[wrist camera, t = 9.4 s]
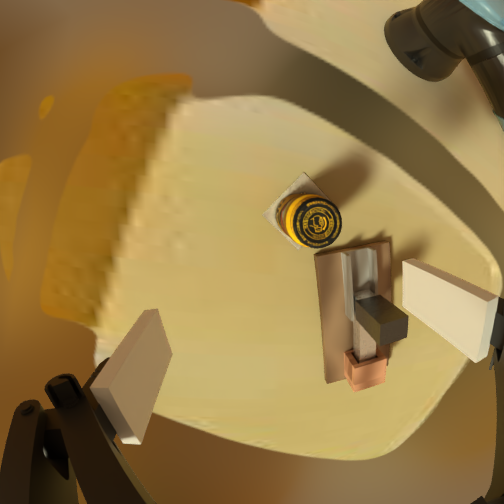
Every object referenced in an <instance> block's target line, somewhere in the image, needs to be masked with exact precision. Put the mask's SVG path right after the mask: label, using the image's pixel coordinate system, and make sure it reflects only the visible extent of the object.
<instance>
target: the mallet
mask: <svg viewBox="0 0 504 504" xmlns="http://www.w3.org/2000/svg"><path fill="white" fill-rule="evenodd" d="M353 301H354V321H353V343H354V358H355V359H356V361H357V362H358V364H359V363H362V362H365V361H369V360H372V359H375V358H376V343H377V344H378V345H379V346H383V345H386V344H389V343H392V342H395V341H398V340H401V339H403V338H406V337H407V331H408V315H406V314H405V313H404V312H403V311H401V310H400V309H399V308H397V307H396V306H395V305H393V304H392V303H391V302H389V301H388V300H387V299H385V298H384V297H383V296H381V295H380V294H379V295H375V294H374V293H373V292H371V291H370V290H369V289H367V290H363V291H359V292H354V293H353Z"/></svg>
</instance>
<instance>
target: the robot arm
mask: <svg viewBox="0 0 504 504" xmlns="http://www.w3.org/2000/svg"><path fill="white" fill-rule="evenodd" d="M384 32H385V37H386V40H387V43H388V45H389V47H390V49H391V50H392V52H393V54H394V55H395V56H396V58H397V59H398V60H399V61H400V62H401V63H402V64H403V65H404V66H405V67H406V68H407V69H408V70H409V71H411V72H412V73H413V74H415V75H416V76H418V77H420V78H422V79H424V80H427V81H432V82H437V81H440V80H443V79H445V78H447V77H448V76H450V75H451V74H452V72H453V70H454V69H455V68H456V67H457V65H458V64H459V63H460V61H461V60H462V59H464V58H466V59H467V61H468V62H469V64H470V66H471V68H472V69H473V71H474V73H475V75H476V76H477V78H478V80H479V82H480V84H481V86H482V88H483V90H484V92H485V94H486V96H487V98H488V100H489V102H490V104H491V106H492V108H493V112H494V114H495V116H496V117H497V118H498V121H499V123H500V125H501V127H502V129H503V131H504V0H423V1H422V2H421V3H420V4H419V5H418V6H416V7H412V8H409V9H405V10H402V11H399V12H396V13H395V14H393V15H392V16H391V17H390V18H389V19H388V20H387V21H386V23H385V27H384ZM496 55H497V56H496ZM491 57H492V58H491ZM486 59H487V60H486ZM402 263H403V307H404V308H405V309H406V310H408V311H409V312H411V313H412V314H413V315H415V316H416V317H417V318H419V319H420V320H421V321H422V322H424V323H425V324H426V325H428V326H429V327H430V328H432V329H433V330H434V331H436V332H437V333H438V334H439V335H441V336H442V337H443V338H445V339H446V340H447V341H448V342H450V343H451V344H452V345H454V346H455V347H456V348H457V349H459V350H460V351H461V352H462V353H464V354H465V355H466V356H467V357H469V358H470V359H471V360H472V361H474V362H475V363H476V362H478V361H480V360H482V359H483V358H485V357H486V356H487V353H488V350H489V345H490V344H492V345H493V346H494V347H495V349H494V353H493V357H492V360H491V363H490V367H489V370H491V368H492V366H493V365H494V370H495V380H496V395H497V396H496V397H497V434H496V450H495V460H494V469H493V476H492V482H491V486H490V488H489V490H488V492H487V494H486V496H485V498H483V497H482V496H481V497H479V498H478V499H477V500H475V501H474V502H472V503H471V504H504V299H502V298H500V297H499V296H497V295H495V294H493V293H491V292H489V291H486V290H484V289H482V288H480V287H478V286H476V285H474V284H471V283H469V282H467V281H465V280H463V279H460V278H458V277H456V276H454V275H452V274H449V273H447V272H445V271H442V270H440V269H438V268H436V267H433V266H431V265H429V264H426V263H424V262H421V261H419V260H417V259H414V258H412V259H408V260H403V261H402ZM171 357H172V351H171V348H170V345H169V343H168V340H167V337H166V333H165V330H164V327H163V324H162V321H161V318H160V315H159V311H158V309H151V310H144V312H143V313H142V314H141V316H140V317H139V318H138V320H137V321H136V322H135V324H134V325H133V327H132V328H131V329H130V331H129V332H128V333H127V335H126V336H125V338H124V339H123V340H122V342H121V343H120V344H119V346H118V347H117V349H116V350H115V352H114V353H113V354H112V356H111V357H109V358H106V359H105V360H104V361H103V362H101V363H100V364H99V365H98V367H97V368H96V369H95V372H93V374H92V375H91V377H90V378H89V379H88V381H87V382H86V384H85V385H84V386H83V388H81V386H80V385H79V383H78V381H77V379H76V377H75V376H74V375H72V374H61V375H58V376H56V377H54V378H52V379H51V380H50V381H48V383H47V384H46V385H45V392H46V393H47V395H48V397H49V399H50V400H51V402H52V404H53V405H54V407H55V408H54V409H46V410H44V409H43V407H42V406H41V404H40V403H39V401H37V400H28V401H24V402H23V403H21V404H20V405H19V406H18V407H17V408H16V410H15V412H14V415H13V419H12V422H11V426H10V429H9V433H8V437H7V441H6V445H5V449H4V454H3V459H2V465H1V470H0V504H79V503H78V495H77V485H76V478H77V480H78V483H79V485H80V488H81V490H82V492H83V495H84V497H85V500H86V501H87V504H156V502H155V501H154V500H153V499H152V497H151V496H150V495H149V493H148V492H147V490H146V489H145V488H144V486H143V485H142V484H141V482H140V481H139V479H138V478H137V476H136V475H135V473H134V472H133V470H132V469H131V467H130V466H129V464H128V463H127V461H126V460H125V458H124V456H123V455H122V453H121V451H120V450H119V448H118V447H117V445H116V443H115V442H114V441H113V440H114V438H115V435H116V433H117V435H118V436H119V438H120V439H121V441H122V442H123V443H126V444H141V443H142V440H143V437H144V434H145V431H146V428H147V425H148V422H149V419H150V416H151V413H152V410H153V407H154V405H155V402H156V399H157V396H158V393H159V390H160V388H161V385H162V382H163V379H164V376H165V374H166V371H167V368H168V365H169V363H170V360H171Z"/></svg>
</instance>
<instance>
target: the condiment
mask: <svg viewBox="0 0 504 504" xmlns="http://www.w3.org/2000/svg"><path fill="white" fill-rule="evenodd" d="M304 192H305V194H304ZM301 193H303V194H301ZM262 215H263V216H264V217H265V218H266V219H267V220H268V221H269V222H270V223H271V224H272V225H273V226H274V227H275V228H276V229H277V230H278V231H279V232H280V233H281V234H282V235H283V236H284V237H285V238H286V239H287V240H288V241H289V242H290V243H291V244H292V245H293V246H294V247H295V248H296V249H297V250H299V249H300V248H301V247H302V246H305V247H311V248H323V247H326V246H328V245H330V244H332V243H333V242H334V241H335V240H336V239H337V237H338V236H339V234H340V232H341V228H342V221H341V220H342V218H341V215H340V212H339V210H338V208H337V207H336V206H335V205H334V204H333V203H332V201H331V200H330V199H329V198H328V197H327V196H326V195H325V194H324V193H323V192H322V191H321V190H320V189H319V188H318V187H317V186H316V184H315V183H314V182H313V181H312V180H311V179H310V178H309V177H308V176H307V175H306V174H305V173H304V172H303V173H302V174H301V175H300V176H299V177H298V178H297V179H296V180H295V182H294V183H293V184H292V185H291V186H290V187H289V188H288V189H287V190H286V191H285V192H284V193H283V194H282V195H281V196H280V197H279V198H278V199H277V200H276V201H275V202H274V203H273V204H272V205H271V206H270V207H269V208H268V209H267V210H266V211H265V212H264V213H263V214H262Z"/></svg>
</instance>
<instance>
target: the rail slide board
mask: <svg viewBox="0 0 504 504" xmlns="http://www.w3.org/2000/svg"><path fill="white" fill-rule="evenodd" d="M314 260H315V268H316V277H317V286H318V296H319V306H320V317H321V329H322V342H323V356H324V373H325V380H326V383H327V384H328V383H332V382H336V381H340V380H343V379H347V381H348V382H349V384H350V386H351V388H352V390H353V391H354V392H356V391H360V390H363V389H366V388H369V387H372V386H375V385H378V384H381V383H384V382H385V375H386V366H388V360H389V347H390V343H389V344H386V345H383V346H379V345H378V344H377V343H376V358H375V359H372V360H369V361H365V362H362V363H359V364H358V362H357V361H356V359H355V358H354V343H353V321H354V301H353V293H354V292H359V291H363V290H367V289H369V290H370V291H371V292H373V293H374V294H375V295H379V294H380V295H381V296H383V297H384V298H385V299H387V300H388V301H389V302H391V263H390V244H389V242H387V241H381V242H376V243H371V244H366V245H361V246H356V247H351V248H345V249H340V250H335V251H330V252H325V253H319V254H314Z"/></svg>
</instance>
